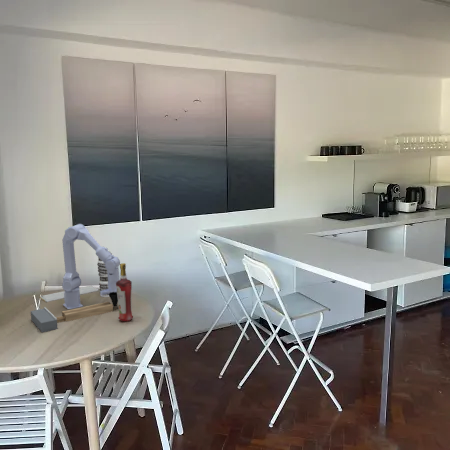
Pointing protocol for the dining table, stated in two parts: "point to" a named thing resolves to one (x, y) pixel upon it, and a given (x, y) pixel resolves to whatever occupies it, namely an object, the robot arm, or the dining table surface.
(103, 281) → the white tower model
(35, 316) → the groove block
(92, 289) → the baseboard
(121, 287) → the liquor
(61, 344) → the dining table surface
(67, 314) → the oak plank
